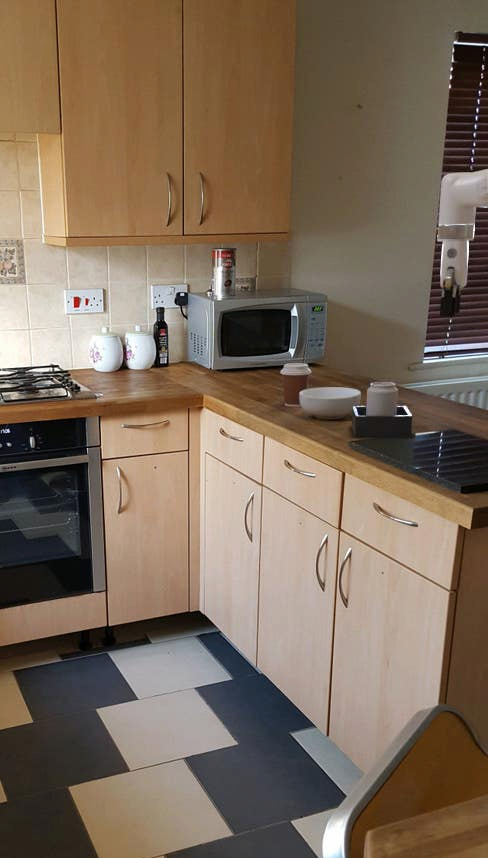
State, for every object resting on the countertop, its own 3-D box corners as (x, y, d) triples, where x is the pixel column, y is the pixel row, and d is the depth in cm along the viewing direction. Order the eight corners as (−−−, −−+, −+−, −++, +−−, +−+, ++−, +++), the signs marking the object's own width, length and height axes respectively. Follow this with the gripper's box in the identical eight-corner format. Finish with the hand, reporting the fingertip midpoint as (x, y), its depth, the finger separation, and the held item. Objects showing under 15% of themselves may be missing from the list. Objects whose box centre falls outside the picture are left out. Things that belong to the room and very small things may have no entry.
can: (359, 430, 223) (361, 383, 219) (376, 426, 228) (378, 379, 224) (384, 434, 218) (387, 386, 214) (401, 429, 222) (404, 382, 218)
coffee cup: (286, 401, 269) (287, 362, 265) (314, 403, 265) (316, 363, 261) (275, 406, 262) (275, 366, 258) (303, 408, 257) (304, 367, 253)
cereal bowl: (287, 415, 249) (288, 390, 246) (338, 409, 254) (339, 385, 252) (319, 425, 234) (320, 399, 231) (372, 419, 239) (373, 393, 237)
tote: (404, 427, 228) (405, 405, 227) (410, 438, 216) (412, 415, 214) (351, 427, 230) (352, 406, 228) (354, 438, 218) (355, 416, 216)
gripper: (470, 233, 182) (463, 318, 188) (476, 233, 197) (470, 311, 203) (433, 234, 185) (427, 318, 191) (442, 234, 200) (436, 311, 206)
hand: (449, 314), depth 197 cm, fingers open, 9 cm apart
